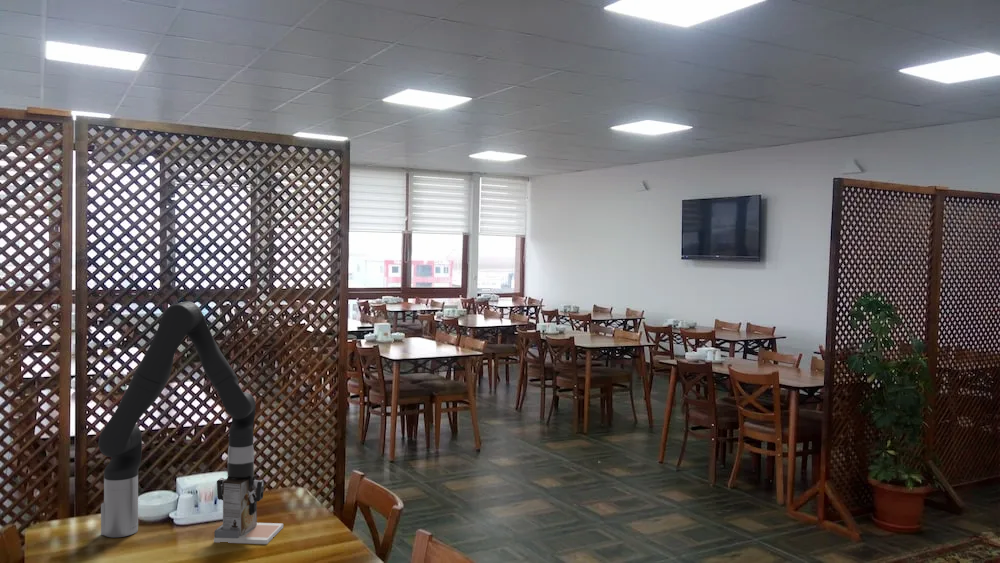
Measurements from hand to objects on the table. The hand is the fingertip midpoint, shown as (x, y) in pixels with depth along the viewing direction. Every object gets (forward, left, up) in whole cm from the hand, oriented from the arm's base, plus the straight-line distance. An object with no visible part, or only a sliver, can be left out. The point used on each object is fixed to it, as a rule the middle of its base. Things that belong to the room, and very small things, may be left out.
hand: (240, 513), depth 229 cm
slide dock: (+3, 0, -6) cm, 7 cm away
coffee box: (0, 0, -5) cm, 5 cm away
